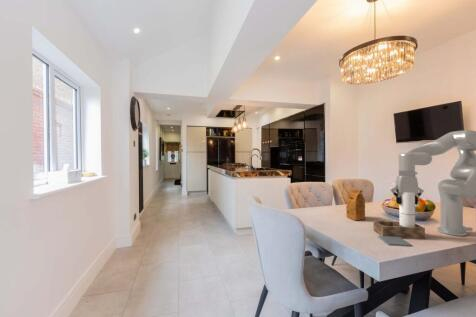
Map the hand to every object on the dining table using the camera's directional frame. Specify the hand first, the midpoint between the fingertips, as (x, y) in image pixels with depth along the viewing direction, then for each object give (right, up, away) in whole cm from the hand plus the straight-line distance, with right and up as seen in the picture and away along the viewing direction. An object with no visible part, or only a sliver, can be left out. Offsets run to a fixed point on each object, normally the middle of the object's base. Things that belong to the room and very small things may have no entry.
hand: (406, 203), depth 125 cm
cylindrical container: (0, -18, 0) cm, 18 cm away
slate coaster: (-15, -18, -10) cm, 25 cm away
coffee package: (-12, -18, +34) cm, 40 cm away
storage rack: (-5, -18, +1) cm, 19 cm away
